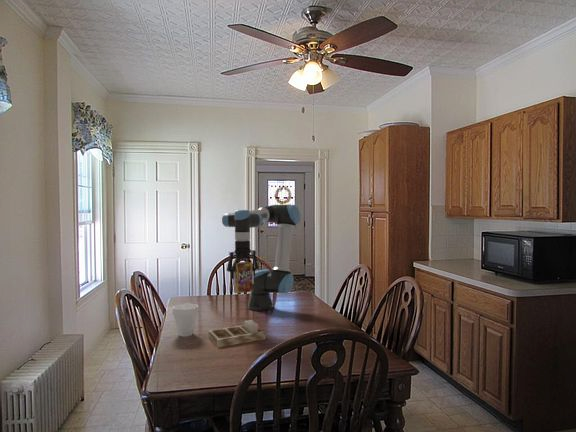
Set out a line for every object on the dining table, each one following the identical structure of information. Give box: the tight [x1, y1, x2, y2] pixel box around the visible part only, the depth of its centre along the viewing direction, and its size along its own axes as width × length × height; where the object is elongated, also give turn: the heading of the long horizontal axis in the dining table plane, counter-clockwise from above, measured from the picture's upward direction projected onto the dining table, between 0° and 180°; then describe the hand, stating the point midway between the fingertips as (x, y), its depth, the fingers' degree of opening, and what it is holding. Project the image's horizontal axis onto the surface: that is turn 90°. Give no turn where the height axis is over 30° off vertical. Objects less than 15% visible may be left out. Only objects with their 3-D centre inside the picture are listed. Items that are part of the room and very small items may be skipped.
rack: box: [207, 324, 267, 348], centre depth 181 cm, size 23×16×4 cm
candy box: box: [233, 261, 253, 295], centre depth 198 cm, size 9×4×15 cm, turn 123°
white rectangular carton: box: [243, 319, 259, 333], centre depth 184 cm, size 4×8×6 cm, turn 28°
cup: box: [172, 303, 199, 338], centre depth 190 cm, size 12×12×14 cm
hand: (243, 284), depth 198 cm, fingers closed on candy box, 9 cm apart
